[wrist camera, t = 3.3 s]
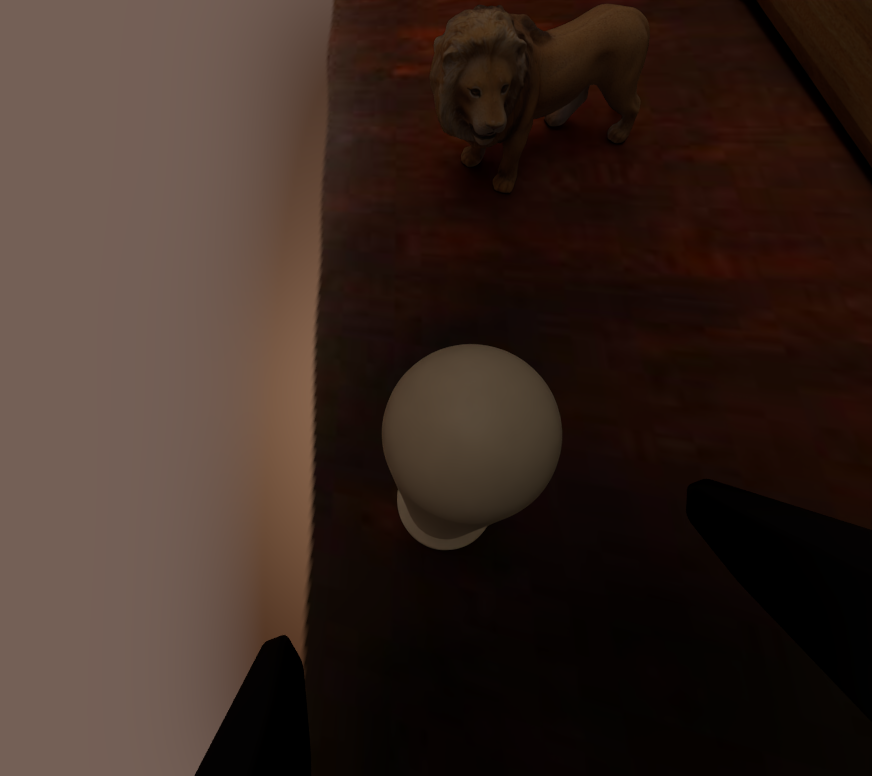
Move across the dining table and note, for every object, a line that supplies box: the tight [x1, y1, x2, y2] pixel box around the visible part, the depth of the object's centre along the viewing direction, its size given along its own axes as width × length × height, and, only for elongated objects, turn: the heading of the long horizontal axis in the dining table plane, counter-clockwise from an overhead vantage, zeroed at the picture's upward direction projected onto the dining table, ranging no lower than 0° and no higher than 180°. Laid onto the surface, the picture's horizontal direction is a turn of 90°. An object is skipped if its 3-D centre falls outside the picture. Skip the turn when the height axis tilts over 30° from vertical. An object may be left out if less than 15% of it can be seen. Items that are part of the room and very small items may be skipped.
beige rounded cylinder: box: [382, 344, 562, 550], centre depth 13 cm, size 4×4×13 cm
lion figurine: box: [430, 4, 650, 193], centre depth 22 cm, size 15×5×9 cm, turn 127°
